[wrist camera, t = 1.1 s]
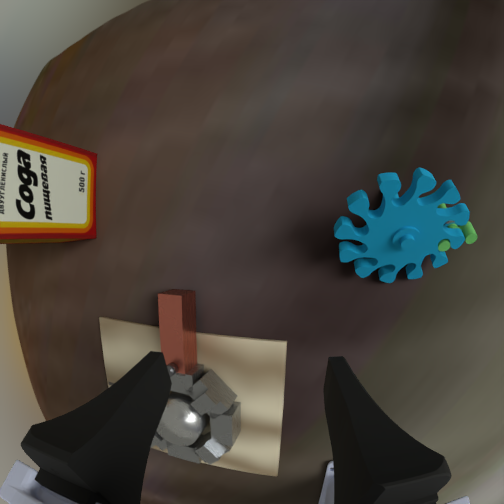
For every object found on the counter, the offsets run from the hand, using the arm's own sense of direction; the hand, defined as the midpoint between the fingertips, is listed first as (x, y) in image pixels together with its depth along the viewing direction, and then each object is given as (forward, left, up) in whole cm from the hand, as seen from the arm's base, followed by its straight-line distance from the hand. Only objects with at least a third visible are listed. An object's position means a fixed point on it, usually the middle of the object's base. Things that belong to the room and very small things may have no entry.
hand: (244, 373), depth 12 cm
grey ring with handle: (-7, +9, -12) cm, 17 cm away
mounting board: (-11, +10, -13) cm, 19 cm away
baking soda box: (+10, +24, -13) cm, 29 cm away
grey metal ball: (-11, +9, -13) cm, 19 cm away
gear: (+6, -9, -13) cm, 17 cm away
